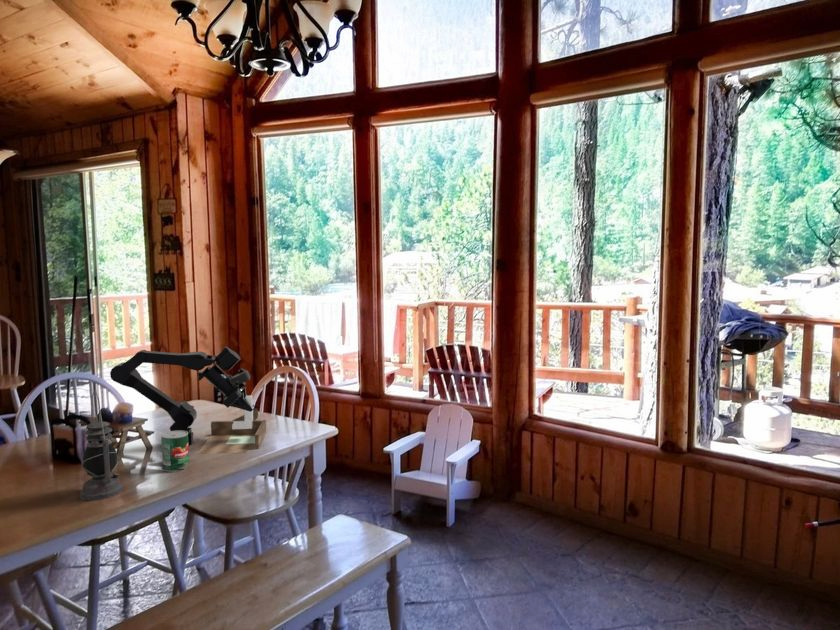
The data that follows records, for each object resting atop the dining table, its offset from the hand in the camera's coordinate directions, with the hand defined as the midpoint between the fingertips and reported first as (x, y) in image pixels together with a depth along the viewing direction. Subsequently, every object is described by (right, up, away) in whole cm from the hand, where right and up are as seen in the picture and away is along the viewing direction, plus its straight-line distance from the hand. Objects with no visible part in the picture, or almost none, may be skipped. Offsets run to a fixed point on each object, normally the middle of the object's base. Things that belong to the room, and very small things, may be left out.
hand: (252, 408), depth 204 cm
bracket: (-4, -7, 0) cm, 7 cm away
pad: (-4, -12, +1) cm, 13 cm away
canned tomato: (-18, -15, -23) cm, 33 cm away
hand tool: (-11, -10, +24) cm, 29 cm away
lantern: (-31, -17, -42) cm, 55 cm away
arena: (-6, -13, -1) cm, 14 cm away
